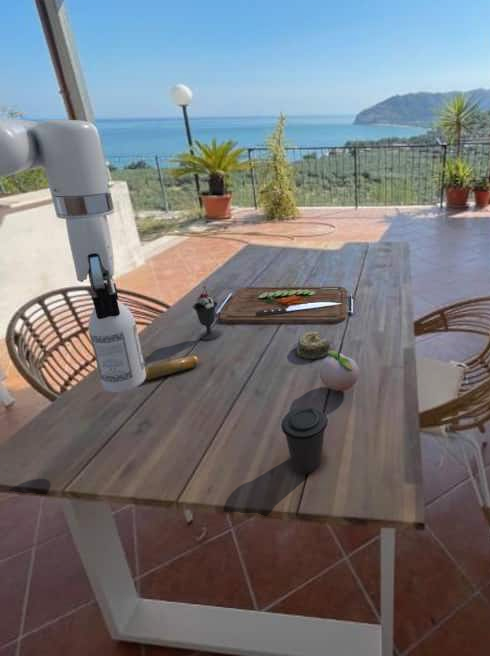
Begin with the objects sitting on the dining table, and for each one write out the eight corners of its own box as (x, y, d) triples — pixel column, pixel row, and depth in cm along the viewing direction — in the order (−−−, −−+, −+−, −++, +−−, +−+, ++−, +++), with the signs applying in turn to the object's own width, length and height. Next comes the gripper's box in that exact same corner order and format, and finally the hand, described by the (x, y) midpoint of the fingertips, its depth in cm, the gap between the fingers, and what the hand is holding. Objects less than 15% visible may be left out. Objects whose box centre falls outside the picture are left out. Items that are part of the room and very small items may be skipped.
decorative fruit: (311, 390, 91) (310, 353, 87) (336, 374, 96) (335, 339, 93) (340, 408, 85) (340, 369, 81) (365, 390, 91) (365, 353, 87)
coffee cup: (327, 442, 76) (325, 400, 72) (330, 476, 68) (329, 431, 65) (284, 447, 74) (281, 404, 71) (283, 482, 67) (279, 436, 63)
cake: (312, 365, 101) (310, 348, 99) (289, 351, 107) (286, 335, 105) (340, 348, 107) (338, 332, 105) (316, 336, 114) (314, 320, 112)
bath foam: (126, 368, 76) (105, 272, 69) (155, 375, 74) (135, 277, 67) (93, 389, 69) (66, 286, 63) (123, 398, 67) (99, 292, 61)
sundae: (216, 328, 118) (210, 282, 113) (224, 336, 114) (218, 289, 108) (194, 335, 114) (186, 288, 109) (202, 344, 110) (194, 295, 104)
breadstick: (143, 384, 92) (140, 373, 91) (142, 377, 95) (139, 367, 94) (200, 367, 99) (199, 357, 98) (198, 361, 101) (196, 351, 100)
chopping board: (353, 289, 147) (353, 282, 146) (353, 322, 122) (353, 314, 121) (234, 290, 147) (233, 282, 145) (209, 323, 121) (208, 314, 120)
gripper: (60, 198, 65) (85, 298, 71) (47, 217, 52) (79, 338, 58) (112, 195, 69) (131, 290, 75) (113, 212, 55) (136, 326, 62)
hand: (108, 310), depth 67 cm, fingers closed on bath foam, 3 cm apart
